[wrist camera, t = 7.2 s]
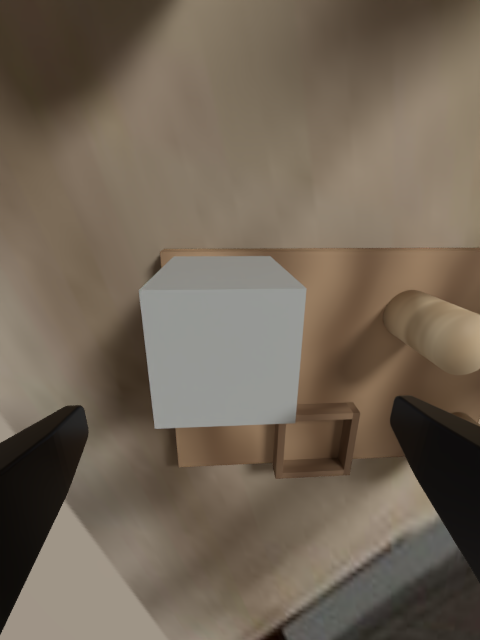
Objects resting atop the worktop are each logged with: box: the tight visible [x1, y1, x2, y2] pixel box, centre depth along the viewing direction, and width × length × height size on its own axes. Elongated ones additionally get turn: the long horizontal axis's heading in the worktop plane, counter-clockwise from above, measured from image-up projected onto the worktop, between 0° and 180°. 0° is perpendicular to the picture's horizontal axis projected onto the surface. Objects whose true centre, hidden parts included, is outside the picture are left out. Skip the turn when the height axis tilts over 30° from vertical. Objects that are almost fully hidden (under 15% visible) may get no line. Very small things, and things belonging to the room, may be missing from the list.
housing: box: [139, 256, 307, 429], centre depth 15 cm, size 6×6×8 cm
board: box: [160, 248, 480, 479], centre depth 21 cm, size 23×16×3 cm
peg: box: [383, 290, 480, 375], centre depth 17 cm, size 3×3×5 cm
